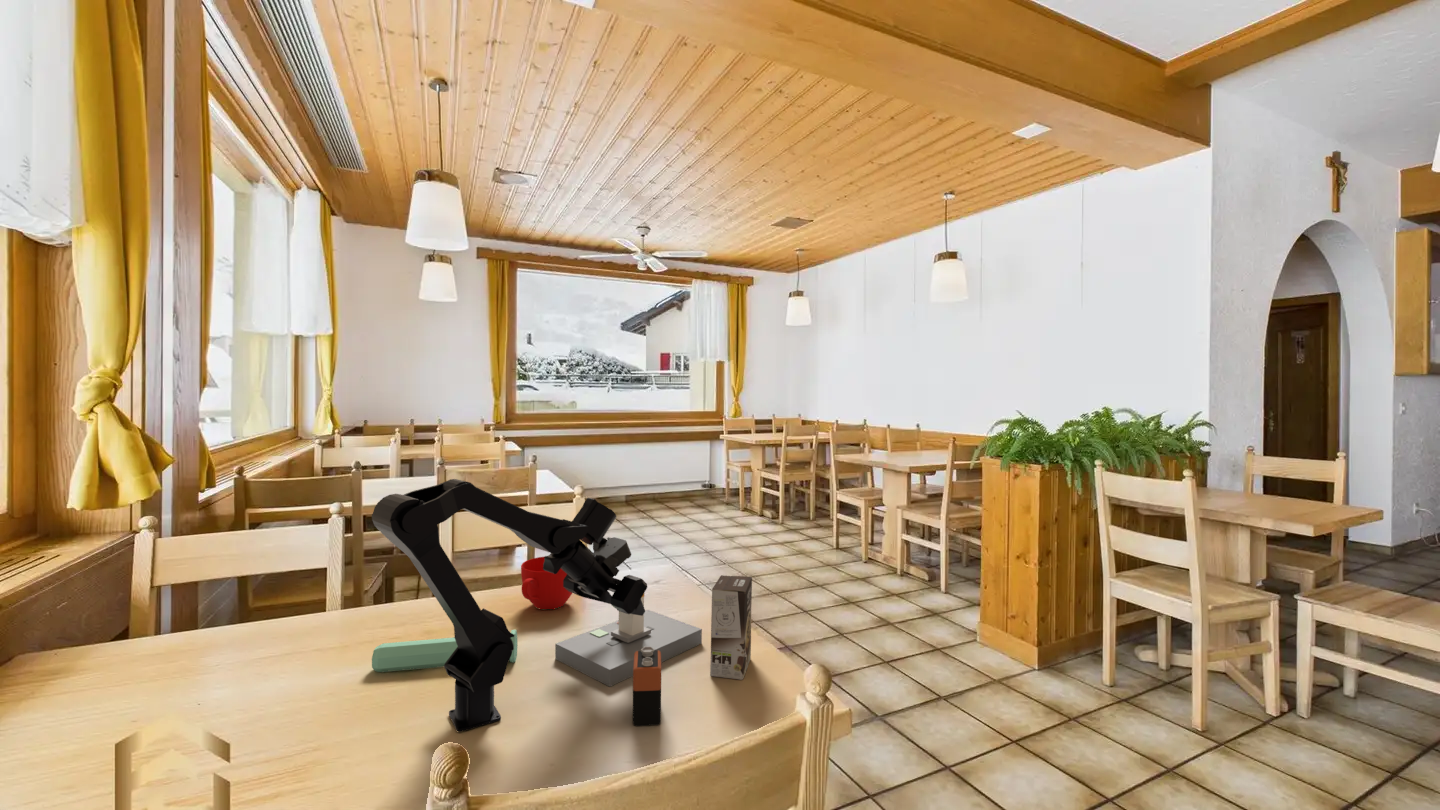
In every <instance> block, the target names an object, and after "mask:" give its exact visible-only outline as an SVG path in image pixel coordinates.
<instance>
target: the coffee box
mask: <svg viewBox="0 0 1440 810" xmlns="http://www.w3.org/2000/svg"><path fill="white" fill-rule="evenodd" d="M752 584H753V577H752V576H745V575H744V576H743V575H724V574H723V575H720V576H719V577H718V579H717V581H716V583H715V584H714V586H713V587H712V588H711V614H710V615H711V618H710V619H711V620H710V621H711V623H710V627H711V628H710V665H709V666H710V668H709V669H710V670H709V671H710V672H709V673H710V674H709V675H710V676H711V677H717V678H725V679H733V680H740V681H741V680H744V678H745V675H746V672H747V670H748V667H749V664H750V661H751V659H752V656H751V655H752V653H751V651H752V601H753V600H752V598H753V596H752V595H753V594H752V593H753V592H752V591H753V589H752V588H753V585H752Z"/></svg>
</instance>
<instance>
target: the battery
mask: <svg viewBox="0 0 1440 810" xmlns="http://www.w3.org/2000/svg"><path fill="white" fill-rule="evenodd" d="M661 711H662V662H661V652H660V651H659V650H654V648H652V647H643V648H642V649H641V651H636V652H635V653H634V665H633V676H632V725H633V726H636V727H638V726H639V727H640V726H641V727H642V726H658V725H660V724H661V720H662V712H661Z"/></svg>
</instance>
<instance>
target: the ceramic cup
mask: <svg viewBox="0 0 1440 810" xmlns="http://www.w3.org/2000/svg"><path fill="white" fill-rule="evenodd" d="M545 556H546V555H545ZM545 556H539V557H533V558H530V559H528V560H525V561H524V562H522V563H521V565H520V572H521V573H520V574H521V583H522V585H521V595H522V596H523V597H524V598H525V600H529V602H530V603H531V604H532V605H533V606H534V607H535V608H536V607H537V608H540V609H553V610H555V609H554V608H558V607H560V608H562V607H563V606H564V605H565V603H567V601H568V600H569V599H570V598H571V596H572V595H573V593H571V592H569V591H568V590H566V589H565V588H564V587H563V580H564V578H565V577H566V575H567V574H566V573H565V572H564V571H563V570H562V569H561V568H560V570H559V571H558V573H557V574H553V573H551V572H548V571H545V570H543V564H544V561H545V560H544V557H545ZM561 606H562V607H561ZM537 608H536V609H537ZM540 609H539V610H540ZM558 609H559V608H558Z"/></svg>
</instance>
